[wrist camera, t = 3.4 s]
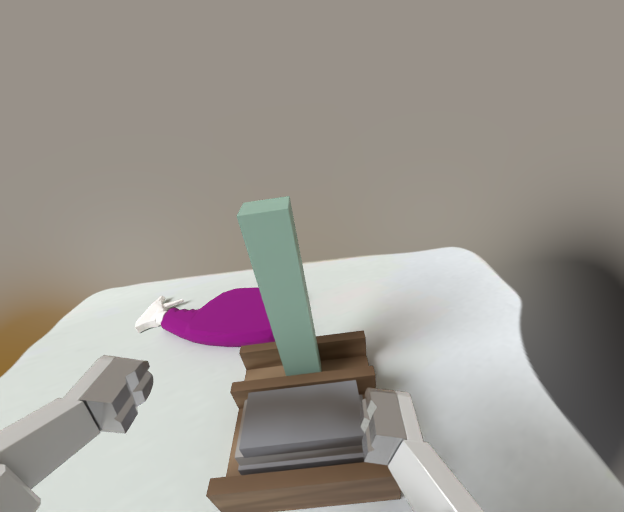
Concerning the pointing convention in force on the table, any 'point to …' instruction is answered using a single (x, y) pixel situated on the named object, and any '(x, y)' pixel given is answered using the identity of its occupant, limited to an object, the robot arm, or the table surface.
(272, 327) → the tall board
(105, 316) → the table surface
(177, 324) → the spray bottle
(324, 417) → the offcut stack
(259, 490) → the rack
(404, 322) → the table surface
